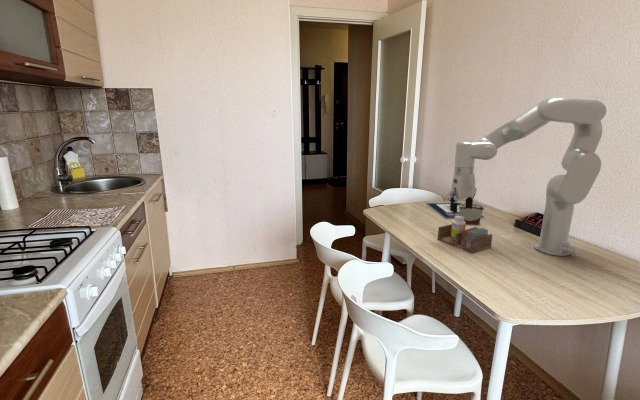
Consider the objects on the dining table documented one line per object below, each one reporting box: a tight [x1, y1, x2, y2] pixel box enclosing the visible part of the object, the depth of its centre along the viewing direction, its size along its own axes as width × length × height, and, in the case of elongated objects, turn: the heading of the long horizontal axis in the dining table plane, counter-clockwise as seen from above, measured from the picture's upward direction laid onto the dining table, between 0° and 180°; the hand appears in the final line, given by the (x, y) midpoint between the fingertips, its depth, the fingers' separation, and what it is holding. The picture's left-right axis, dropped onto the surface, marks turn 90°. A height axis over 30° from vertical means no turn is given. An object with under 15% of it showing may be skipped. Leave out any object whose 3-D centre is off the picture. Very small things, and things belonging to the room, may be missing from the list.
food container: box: [458, 202, 485, 226], centre depth 179 cm, size 12×6×10 cm, turn 84°
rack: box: [437, 223, 493, 255], centre depth 151 cm, size 18×12×8 cm, turn 30°
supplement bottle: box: [451, 216, 467, 240], centre depth 154 cm, size 6×6×10 cm
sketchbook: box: [425, 201, 485, 220], centre depth 202 cm, size 22×30×2 cm
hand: (461, 209), depth 152 cm, fingers open, 9 cm apart
